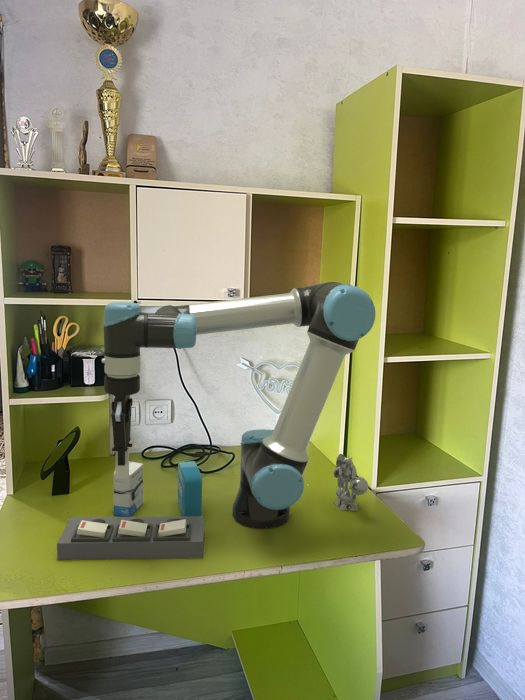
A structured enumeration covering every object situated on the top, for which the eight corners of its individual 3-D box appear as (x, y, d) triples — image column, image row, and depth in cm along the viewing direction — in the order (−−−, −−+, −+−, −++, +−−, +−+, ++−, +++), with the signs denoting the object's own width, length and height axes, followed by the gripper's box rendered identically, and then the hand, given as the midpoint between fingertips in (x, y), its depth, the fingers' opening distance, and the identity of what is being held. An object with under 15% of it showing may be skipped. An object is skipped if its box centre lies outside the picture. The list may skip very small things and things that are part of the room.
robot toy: (371, 520, 146) (375, 466, 143) (350, 522, 144) (354, 468, 141) (346, 495, 159) (350, 446, 157) (327, 498, 158) (330, 448, 155)
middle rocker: (146, 528, 128) (147, 523, 128) (144, 537, 125) (145, 532, 124) (120, 524, 128) (121, 519, 127) (117, 533, 124) (118, 528, 124)
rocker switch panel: (203, 531, 137) (203, 513, 136) (202, 557, 125) (203, 538, 124) (71, 532, 134) (70, 514, 133) (57, 560, 122) (56, 540, 121)
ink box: (130, 517, 142) (130, 474, 140) (112, 515, 143) (112, 472, 141) (144, 503, 150) (143, 462, 148) (127, 501, 151) (126, 460, 149)
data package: (177, 501, 152) (177, 460, 150) (193, 499, 154) (194, 459, 151) (184, 522, 141) (184, 478, 139) (201, 520, 142) (202, 476, 140)
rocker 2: (186, 523, 129) (185, 518, 129) (185, 532, 125) (184, 527, 125) (161, 528, 129) (160, 523, 128) (159, 537, 125) (158, 531, 125)
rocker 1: (107, 528, 128) (108, 523, 127) (103, 537, 124) (104, 532, 123) (80, 524, 127) (81, 519, 127) (76, 533, 123) (77, 528, 123)
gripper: (110, 367, 125) (110, 465, 130) (98, 381, 113) (99, 489, 117) (143, 368, 126) (142, 465, 130) (135, 381, 113) (135, 489, 117)
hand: (122, 476), depth 124 cm, fingers closed
